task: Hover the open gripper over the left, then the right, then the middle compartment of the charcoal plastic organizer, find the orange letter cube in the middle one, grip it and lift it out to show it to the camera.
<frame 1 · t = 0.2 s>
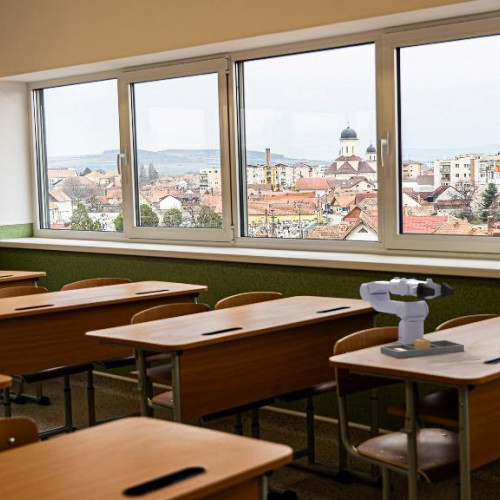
hand: (443, 292, 313), 21 cm above the table, tool horizontal, fingers open, 7 cm apart
letter cube: (422, 351, 315), resting on organizer
eraser: (400, 353, 312), resting on organizer
organizer: (422, 352, 315), on the table
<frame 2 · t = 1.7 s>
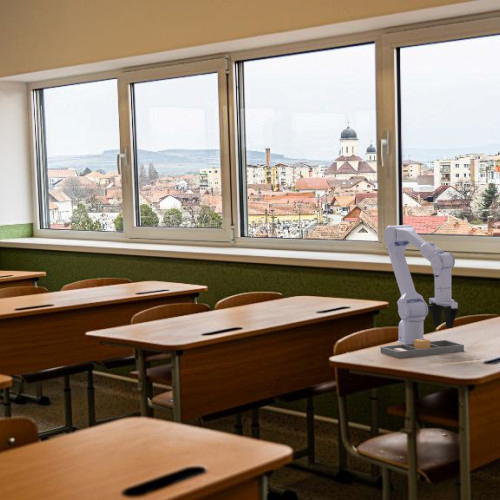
hand: (443, 326, 317), 8 cm above the table, tool pointing down, fingers open, 7 cm apart
nothing on the table moved.
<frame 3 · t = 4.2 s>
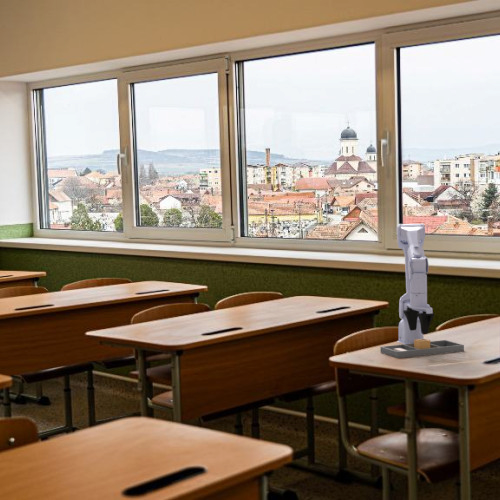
hand: (418, 331, 314), 7 cm above the table, tool pointing down, fingers open, 7 cm apart
nothing on the table moved.
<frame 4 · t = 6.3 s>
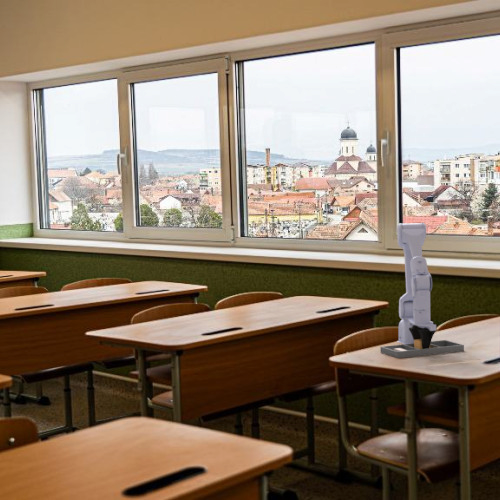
hand: (422, 348, 315), 1 cm above the table, tool pointing down, fingers closed on letter cube, 4 cm apart
letter cube: (422, 351, 315), resting on organizer, touching gripper
everything else where it was.
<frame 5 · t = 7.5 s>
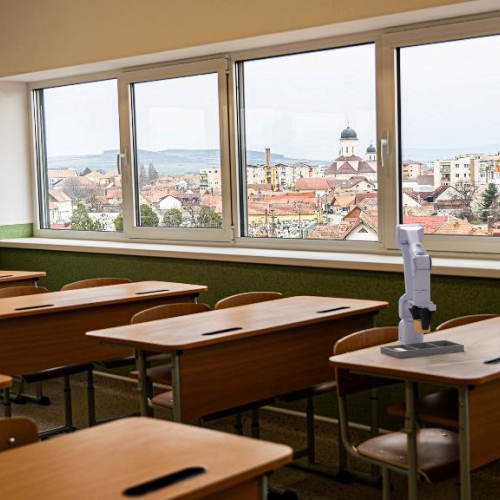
hand: (422, 328, 314), 8 cm above the table, tool pointing down, fingers closed on letter cube, 4 cm apart
letter cube: (421, 331, 314), point 7 cm above the table, touching gripper
everything else where it was.
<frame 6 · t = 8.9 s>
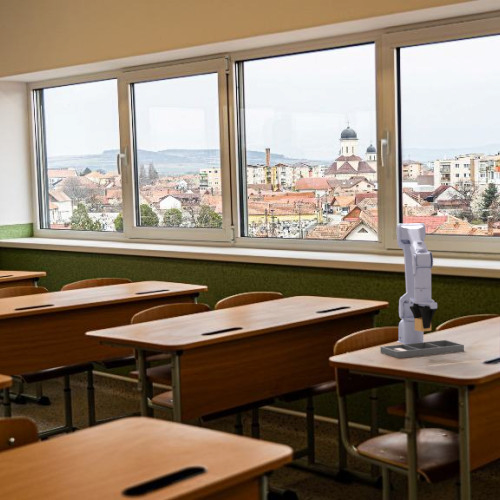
hand: (423, 327, 311), 9 cm above the table, tool pointing down, fingers closed on letter cube, 4 cm apart
letter cube: (423, 330, 311), point 8 cm above the table, touching gripper
everything else where it was.
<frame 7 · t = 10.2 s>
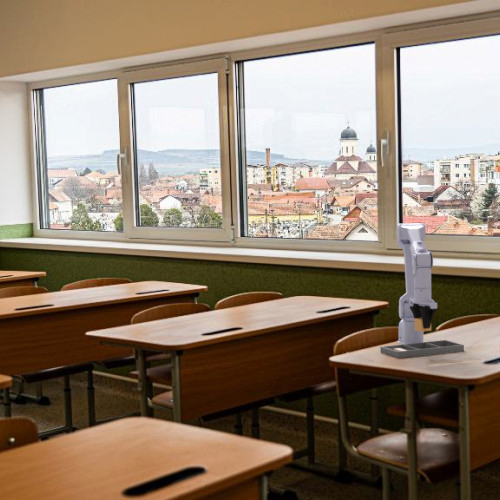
hand: (423, 327, 311), 9 cm above the table, tool pointing down, fingers closed on letter cube, 4 cm apart
letter cube: (423, 330, 311), point 8 cm above the table, touching gripper
everything else where it was.
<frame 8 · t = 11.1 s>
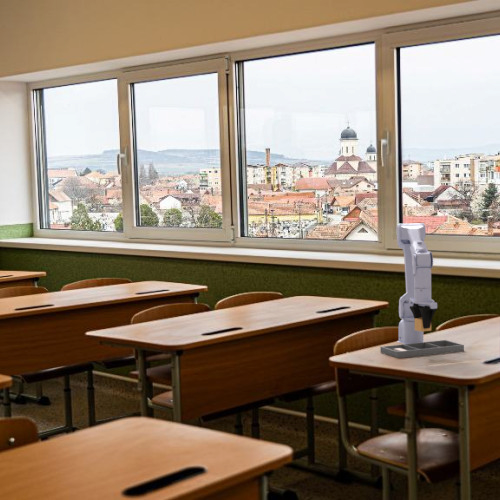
hand: (423, 327, 311), 9 cm above the table, tool pointing down, fingers closed on letter cube, 4 cm apart
letter cube: (423, 330, 311), point 8 cm above the table, touching gripper
everything else where it was.
at the end: the gripper is holding letter cube; letter cube point 8.4 cm above the table; eraser moved 0.0 cm from its start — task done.
